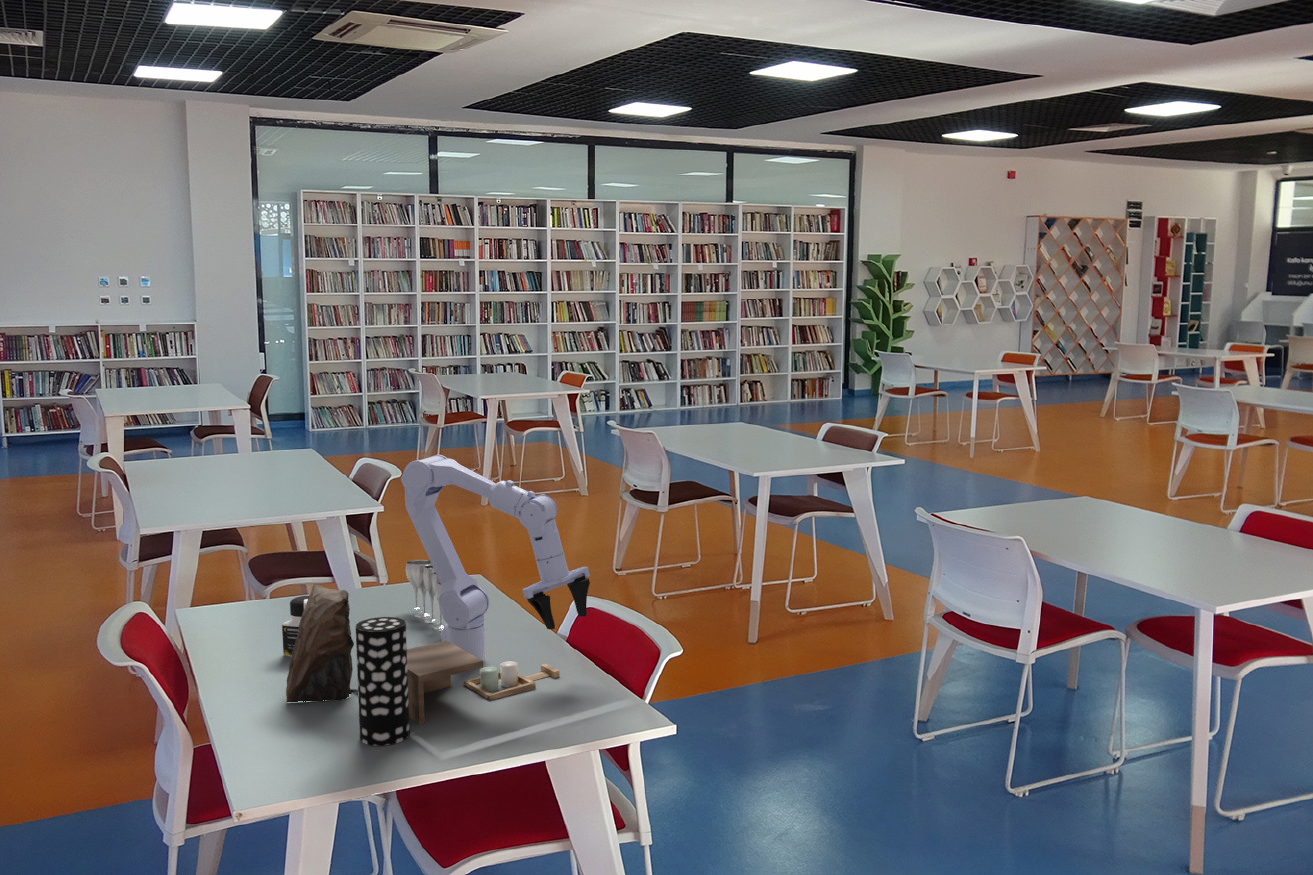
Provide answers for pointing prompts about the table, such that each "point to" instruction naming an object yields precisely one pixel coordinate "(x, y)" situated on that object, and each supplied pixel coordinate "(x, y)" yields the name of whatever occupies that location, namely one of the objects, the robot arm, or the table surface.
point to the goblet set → (424, 584)
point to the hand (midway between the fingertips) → (567, 622)
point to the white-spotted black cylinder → (382, 680)
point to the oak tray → (523, 685)
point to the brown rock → (322, 649)
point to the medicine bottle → (293, 624)
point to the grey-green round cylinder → (489, 679)
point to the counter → (434, 671)
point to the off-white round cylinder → (509, 674)
